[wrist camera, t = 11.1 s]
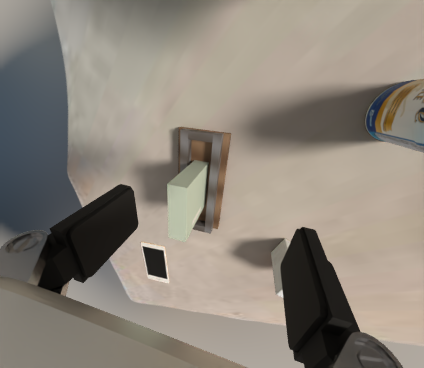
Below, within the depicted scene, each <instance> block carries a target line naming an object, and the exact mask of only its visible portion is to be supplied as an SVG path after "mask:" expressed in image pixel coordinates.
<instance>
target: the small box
mask: <svg viewBox="0 0 424 368" xmlns="http://www.w3.org/2000/svg"><path fill="white" fill-rule="evenodd" d="M290 243H291V242H290V241H289V240H287V239H284V240H283V241H282V242H281V243H280V244H279V245H278V246H277V247H276V248H275V249H274V250H273V251H272V252H271V258H272V266H273V275H274V283H275V292H276V295H278V296H280V297H282V298H283V290H282V280H281V271H280V266H281V262H282V260H283V258H284V256H285V253H286V251H287V249H288V247H289V245H290Z"/></svg>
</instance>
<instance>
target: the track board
mask: <svg viewBox="0 0 424 368" xmlns="http://www.w3.org/2000/svg"><path fill="white" fill-rule="evenodd" d="M230 138H231V133H224V132H216V131H208V130H201V129H193V128H185V127H179V169H178V174H179V173H180V172H182V171H183V170H184V169H185V168H186V167H187V166H188V165H190V164H191V163H192V162H193V161H194V160H197V161H203V162H209V166H208V178H207V190H206V202H205V206H204V208H203V210H202V212H201V214H200V216H199V217H198V219H197V221H196V223H195V225H194V227H193V229H194V230H198V231H202V232H207V233H211V231H212V228H215V229H218V226H219V219H220V212H221V204H222V197H223V190H224V182H225V175H226V167H227V160H228V153H229V145H230Z"/></svg>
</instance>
